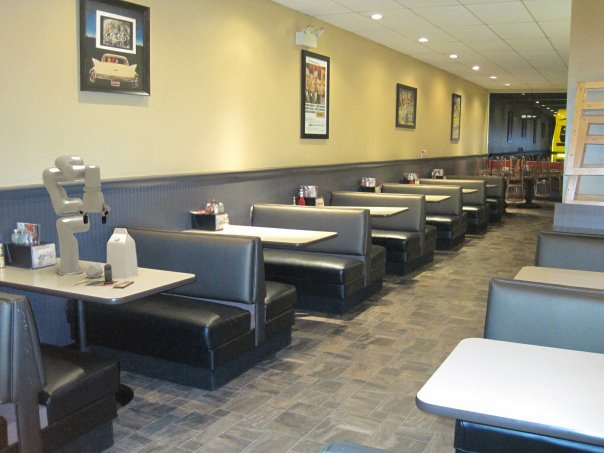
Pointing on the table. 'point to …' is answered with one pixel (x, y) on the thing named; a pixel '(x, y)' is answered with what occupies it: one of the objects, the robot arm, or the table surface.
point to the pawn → (108, 274)
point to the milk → (122, 254)
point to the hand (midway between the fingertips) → (95, 223)
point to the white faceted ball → (94, 271)
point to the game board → (98, 283)
